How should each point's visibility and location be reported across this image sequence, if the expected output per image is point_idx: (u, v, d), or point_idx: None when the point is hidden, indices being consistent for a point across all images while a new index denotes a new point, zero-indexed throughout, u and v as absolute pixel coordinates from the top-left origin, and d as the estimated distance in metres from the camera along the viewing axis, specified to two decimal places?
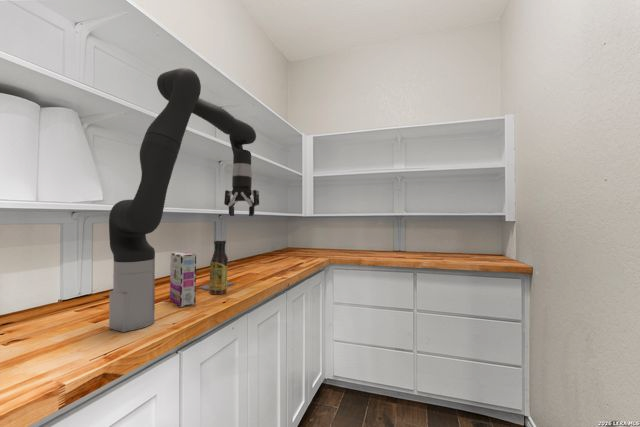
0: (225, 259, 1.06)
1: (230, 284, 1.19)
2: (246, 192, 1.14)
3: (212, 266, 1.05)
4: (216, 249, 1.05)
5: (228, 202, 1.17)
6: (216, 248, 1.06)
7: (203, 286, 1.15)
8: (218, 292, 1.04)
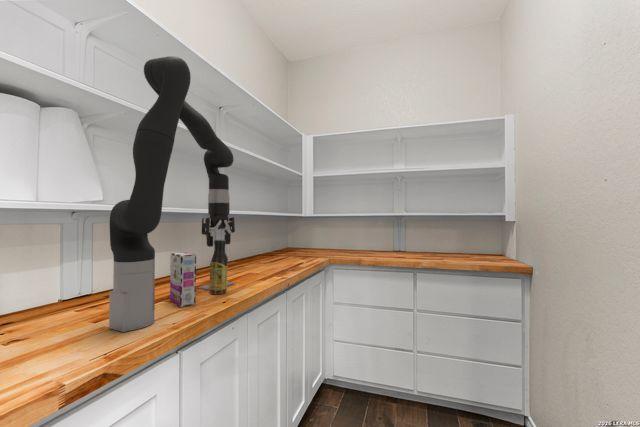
0: (225, 259, 1.06)
1: (230, 284, 1.19)
2: (226, 220, 1.09)
3: (212, 266, 1.05)
4: (216, 249, 1.05)
5: None
6: (216, 248, 1.06)
7: (203, 286, 1.15)
8: (218, 292, 1.04)
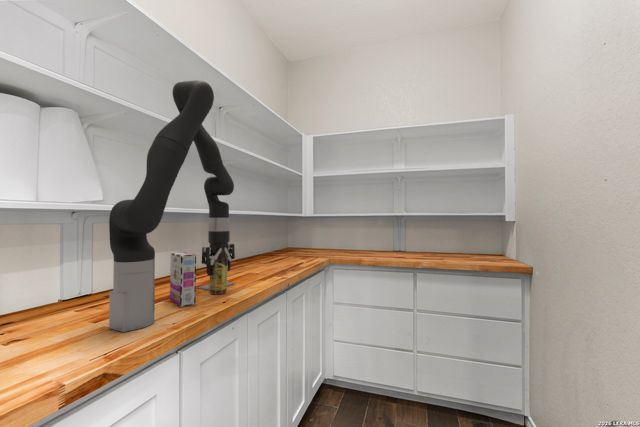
0: (225, 259, 1.06)
1: (230, 284, 1.19)
2: (226, 247, 1.09)
3: None
4: None
5: (206, 260, 1.02)
6: None
7: (203, 286, 1.15)
8: (218, 292, 1.04)
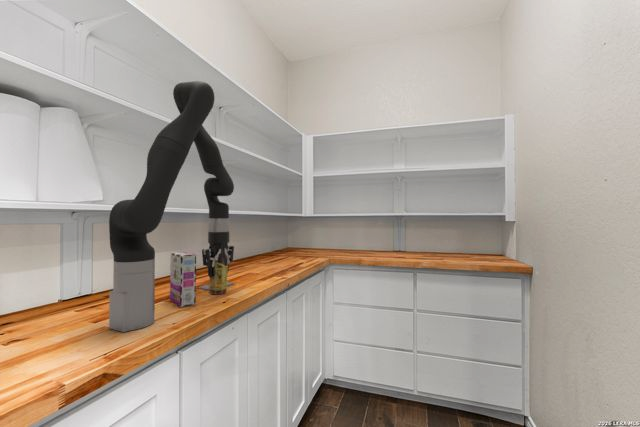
0: (225, 259, 1.06)
1: (230, 284, 1.19)
2: (226, 247, 1.09)
3: None
4: None
5: None
6: None
7: (203, 286, 1.15)
8: (218, 292, 1.04)
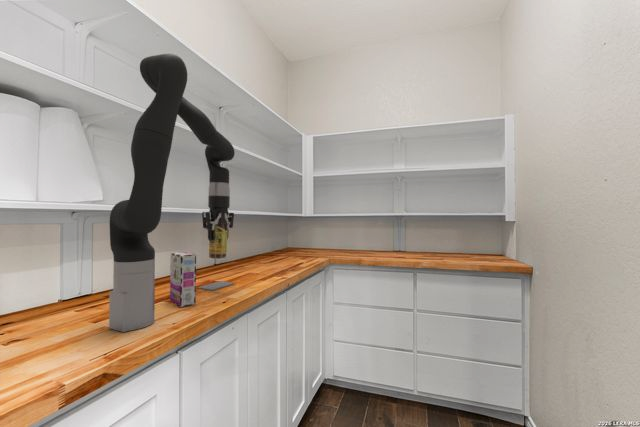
0: (225, 223, 1.06)
1: (230, 284, 1.19)
2: (226, 213, 1.09)
3: None
4: None
5: None
6: None
7: (203, 286, 1.15)
8: (218, 256, 1.04)
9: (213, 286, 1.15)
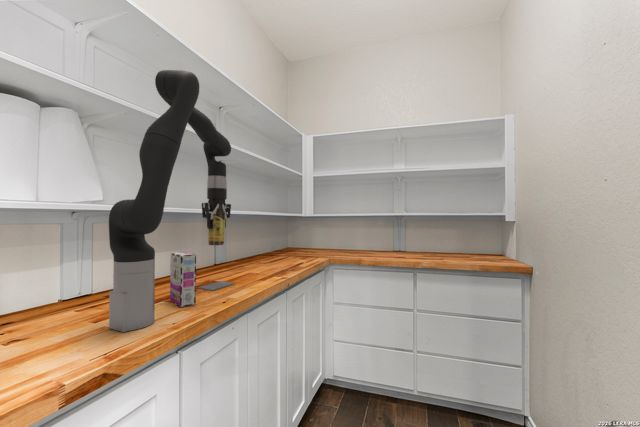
0: (223, 213, 1.16)
1: (230, 284, 1.19)
2: None
3: None
4: None
5: None
6: None
7: (203, 286, 1.15)
8: (216, 243, 1.14)
9: (213, 286, 1.15)
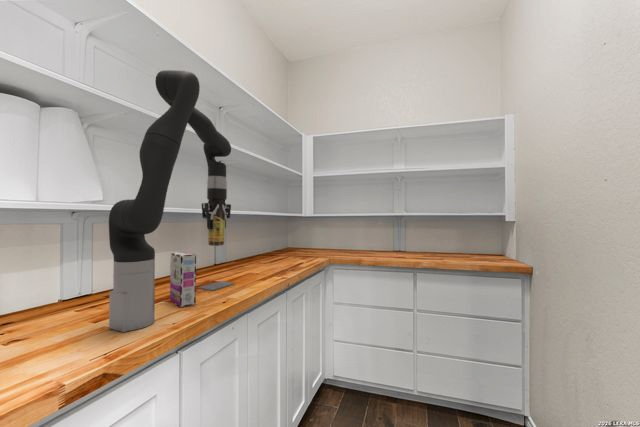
0: (222, 214, 1.16)
1: (230, 284, 1.19)
2: (223, 204, 1.19)
3: None
4: None
5: None
6: None
7: (203, 286, 1.15)
8: (216, 243, 1.14)
9: (213, 286, 1.15)
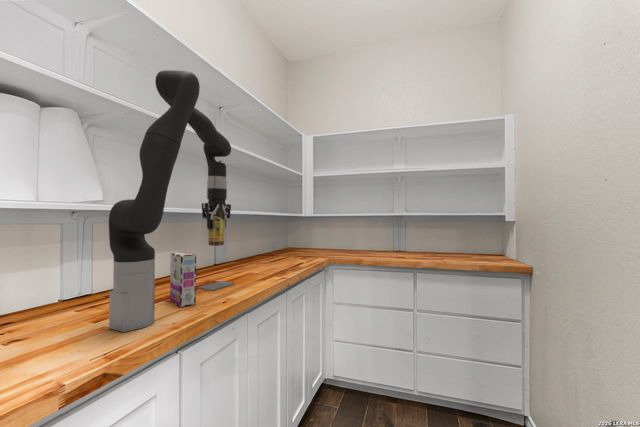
0: (222, 214, 1.16)
1: (230, 284, 1.19)
2: (223, 204, 1.19)
3: None
4: None
5: None
6: None
7: (203, 286, 1.15)
8: (216, 243, 1.14)
9: (213, 286, 1.15)
